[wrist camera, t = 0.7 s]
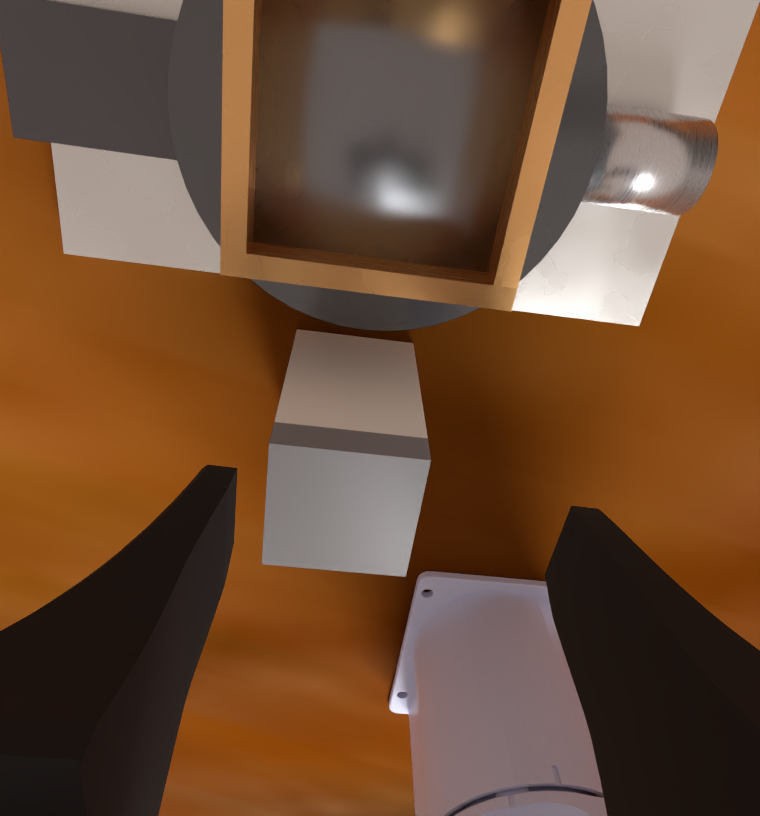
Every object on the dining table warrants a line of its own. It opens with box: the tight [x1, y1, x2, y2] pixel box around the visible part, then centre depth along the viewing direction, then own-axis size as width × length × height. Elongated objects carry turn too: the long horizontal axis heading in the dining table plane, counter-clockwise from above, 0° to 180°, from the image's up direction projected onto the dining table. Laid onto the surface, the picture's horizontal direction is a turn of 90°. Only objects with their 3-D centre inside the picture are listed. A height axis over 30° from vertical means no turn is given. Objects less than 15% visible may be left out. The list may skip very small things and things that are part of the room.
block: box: [262, 329, 431, 577], centre depth 19 cm, size 4×4×7 cm
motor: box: [0, 0, 760, 331], centre depth 16 cm, size 11×18×5 cm, turn 82°
